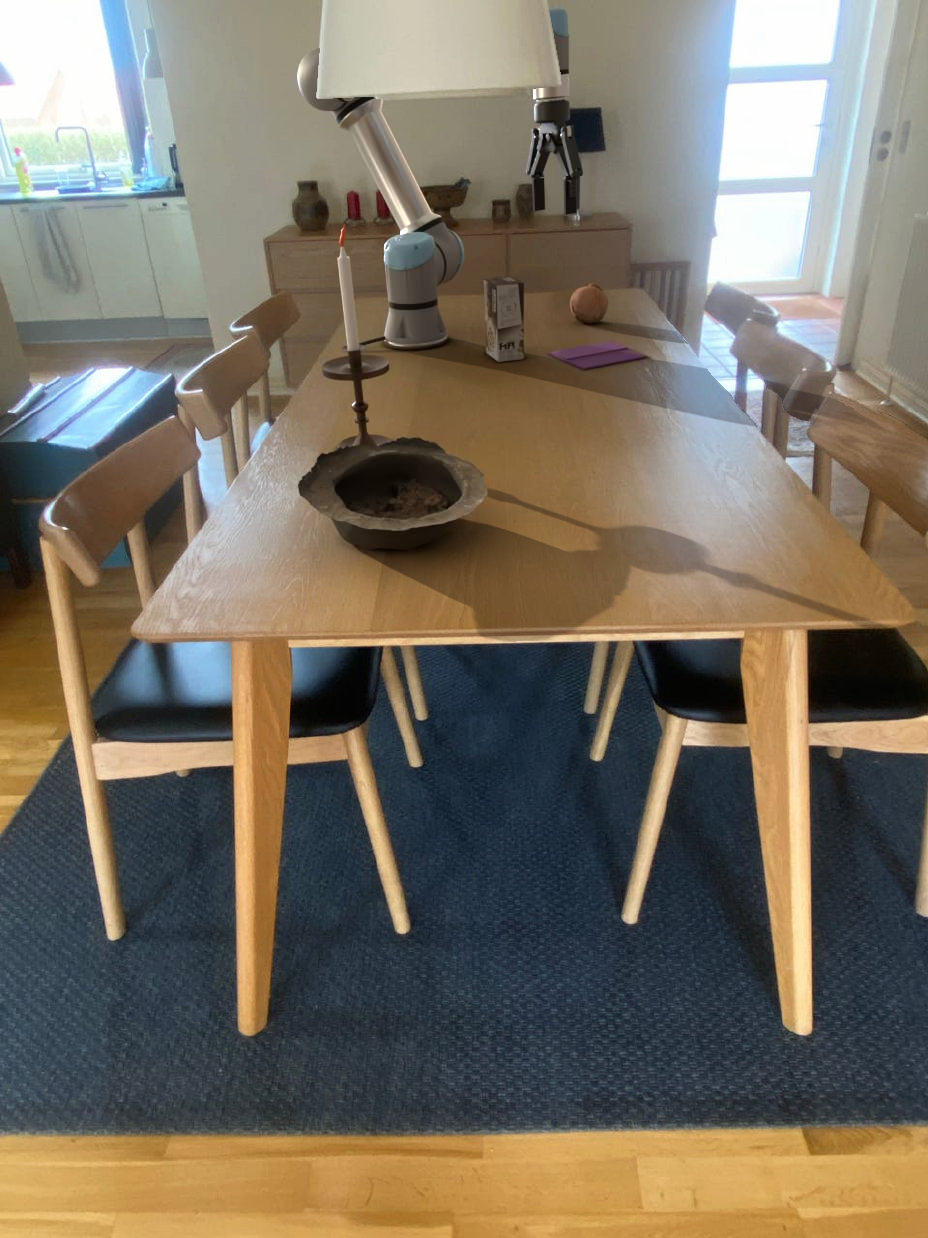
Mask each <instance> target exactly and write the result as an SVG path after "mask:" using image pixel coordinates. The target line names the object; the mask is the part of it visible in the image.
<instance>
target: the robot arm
mask: <svg viewBox="0 0 928 1238" xmlns="http://www.w3.org/2000/svg"><path fill="white" fill-rule="evenodd" d="M548 9H549V12H550V17H551V22H552V28H553V33H554V39H555V44H556V50H557V55H558V60H559V66H560V72H561V82H562V84H561V86H560V87H549V88H536V89H533V88H532V89H533V91H532V92H533V97H532V98H533V100H534V101H536V102H535V103H534V105H533V118H534V119H533V120H534V123H535V124H539V127H532V128H531V140H530V142H531V143H530V147H529V152H528V159H527V165H526V170H525V173H526V176H529V178H530V179H531V185H532V186H531V187H532V188H531V189H532V210H533V212H539V211H545V210H546V193H545V191H546V189H545V174H544V172H545V168H546V166H547V163H548V160H549V157H550V154H551V153H552V154H555V155H556V158H557V161H558V162H559V165H560V168H561V170H562V173H563V175H564V177H563V179H562V181H563V182H562V183H563V214H564V216H568V215H574V214H577V195H578V194H577V190H578V189H577V188H578V187H577V184H578V183H577V181H578V179H579V178H580V177H582V176H583V175H584V170H583V166H582V162H581V157H580V153H579V150H578V145H577V141H576V137H575V136H576V135H575V127H574V125H567V126H566V124H565V122H568V121H569V120H570V118H571V105H570V104H571V103H570V100H567V98H568V97H569V96H570V84H571V82H570V33H569V17H568V16H569V15H568V13H567V11H566V10H565V9H563V8H548ZM320 48H321V47H319V48H315V49H311V50H310V51H308V52H307V53H306V54H305V55H304V56H303V57H302V59H301V61H300V62H299V65H298V69H297V74H296V75H297V76H296V77H297V85H298V89H299V92H300V93H301V95H302V97H303V99H304V100H305V101H306V103H308V104H309V105H310V106H311V107H312V108H314V109H317V110H318V111H322V112H331V113H332V116H333V117H334V119H335V122H336V123H337V125H338V127H339V128H340V129H342V130H345V131H347V132H349V134H350V136H351V138H352V139H353V141H354V143H355V145H356V147H357V149H358V151H359V153H360V155H361V157H362V159H363V161H364V163H365V164H366V167H367V168H368V171H369V172H370V174H371V176H372V178H373V180H374V182H375V184H376V186H377V188H378V189H379V192H380V194H381V196H382V197H383V199H384V201H385V203H386V206H387V208H388V209H389V211H390V213H391V215H392V217H393V218H394V220H395V222H396V224H397V227H398V228H399V230H400V234H397V235H394V236H392V237H390V238H389V239H387V240H386V242H385V243H384V246H383V254H384V255H383V262H384V271H385V281H386V291H387V300H388V313H387V319H386V322H385V329H384V333H383V336H380V337H375V338H372V339H368V340H364V341H361V342H359V345H364V346H366V345H367V346H368V345H370V344H371V345H372V344H374V343H378V342H382V341H384V345H385V347H388V348H390V349H395V350H403V351H405V350H406V351H416V350H425V349H427V350H428V349H432V348H436V347H439V346H442V345H444V344H446V343H447V342H448V330H447V328H446V325H445V322H444V320H443V316H442V314H441V312H440V311H441V310H440V308H439V301H438V287H439V286H441V285H443V284H447V283H448V282H450V281H451V280H453V279H454V278H455V277H456V276H457V275H458V274H459V273H460V271H462V268H463V265H464V261H465V255H466V254H465V247H464V244H463V241H462V239H461V238H460V237H459V235H458V234H457V233H456V232H455V231H452V230H451V229H449V228H447V226H446V222H444V220H443V218H442V215H440V214H438V213H434V212H433V211H432V210H431V208H430V206H429V204H428V202H427V200H426V198H425V196H424V194H423V192H422V189H421V188H420V186H419V184H418V181H417V180H416V178H415V176H414V174H413V172H412V170H411V168H410V166H409V164H408V161H407V159H406V158H405V156H404V154H403V151H402V150H401V148H400V146H399V144H398V142H397V140H396V138H395V136H394V134H393V132H392V130H391V128H390V126H389V124H388V122H387V120H386V118H385V116H384V114H383V112H382V108H383V105H384V99H383V98H382V99H376V98H374V97H354V98H333V99H317V98H316V92H317V78H318V65H319V53H320Z"/></svg>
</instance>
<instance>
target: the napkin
mask: <svg viewBox="0 0 928 1238" xmlns="http://www.w3.org/2000/svg"><path fill="white" fill-rule="evenodd" d="M550 355H551V356H553V357H556V358H558V359H559V360H562V361H564V362H566V363H568V364H571V365H573V366H575V367H578V368H580V369H582V370H590V369H596V368H601V367H605V366H610V365H616V364H617V365H618V364H621V363H626V362H632V361H637V360H641V359H647V358H648V355H645V354H643V353H641V352H637V351H635V350H633V349H631V348H629V347H628V346H625V345H623V344H620V343H619V342H618V343H617V342H616V341H615V342H614V341H613V340H608V341H602V342H595V343H593V344H585V345H581V346H575V347H574V346H573V347H569V348H564V349H558V350H552V351H550Z"/></svg>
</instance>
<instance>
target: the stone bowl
mask: <svg viewBox="0 0 928 1238" xmlns="http://www.w3.org/2000/svg"><path fill="white" fill-rule="evenodd" d="M390 441H391V442H387V443H384V444H382V445H379V446H378V447H370V445H368V446H365V445H362V446H359V445H355V446H351V447H349V446H346V447H345V448H344V449H342V448H341V447H339V448H338V447H337V449H336V450H334V451H329V452H328V453H324V452H321V453H320V454H319V455H318V456H317V457H316V462H314V465H313V466H311V468H310V470H309V471H308V472H307V473H305V475H303V476H301V479H300V480H299V481H298V484H297V489H298V493H299V496H300V497H301V498H303V499H305V500H306V501H307V502H308V503H309V505H310V506H312V507H313V508H314V509H316V511H317V512H318V514H319V515H321V516H323V517H326V518H330V519H331V521H332V523H333V525H334V527H335V529H336V531H337V533H338V534H339V536H340V537H341V538H342V539H343V540H344V541H345V542H346V543H348V544H350V545H356V546H359V547H360V548H362V549H366V550H375V549H387V550H400V551H411V550H414V549H415V548H418V547H419V546H421V545H422V546H423V545H426V544H429V543H431V542H434V541H437V540H439V539H440V538H441V537H443V535H444V534H445V533H446V531H447V530H448V529H449V528H450V527H451V525H452V524H453V523H454V522H455V521H456V520H458V519H460V518H463V517H465V516H467V515H469V514H470V513H472V512H474V510H475V509H476V508H477V507H478V506H479V505H480V504H482V503H483V501H484V500H485V498H487V497H488V488H487V485H486V483H485V480H484V478H485V477H486V476H485V474H484V473H483V472H482V471H481V470H480V469H479V468H478V467H477V466H476V465H475V464H474V463H472V462H470V461H467V460H465V459H462V458H460V457H458V456H456V455H453V454H448V453H447V452H446V450H445V449H444V448H442V447H441V446H440V445H438V442H434V441H430V440H424V439H423V438H422V437H418V436H417V437H410V438H409V437H406V436H405V437H404V436H402V437H399V438H396V440H390Z"/></svg>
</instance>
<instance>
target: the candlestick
mask: <svg viewBox="0 0 928 1238" xmlns="http://www.w3.org/2000/svg"><path fill="white" fill-rule="evenodd" d="M345 241H346V224H345V223H344V224H343V227H342V229H341V230H340V237H339V241H338V244H339V246H340V249H339V250H340V252H339V256H338V257H336V259H337V267H338V274H339V275H338V276H339V284H340V285H339V286H340V293H341V301H342V311H343V320H344V328H345V336H346V345H344V346H342V347H341V348H340V349H341V351H343V352H347V355H344V356H339V357H336V358H333V359H329V360H327V361H325V362H324V363H323V364H322V365H321V371H322V373H321V374H322V375H323V377H325V378H326V379H329V380H334V381H345V382H347V381H348V382H349V381H351V382H353V389H354V390H353V391H354V399H355V400H354V401H355V402H353V403H352V404H351V408H352V411H353V412H354V413H356V418H354V424H357V427H358V434H357V435H353V436H349V437H347V438H344V439H343V440H341V441H340V442H338V445H337V449H338V448H339V447H341V448H342V449H344V448H345V447H346V446H349V447H351V446H355V445H359V446H362V445H365V446H368V445H370V447H378V446H379V445H382V444H384V443H387V442H391V441H392V440H391V439H390V438H389V437H387V436H385V435H381V434H374V433H373V434H369V432H368V428H367V426H368V425H367V423H369V422H370V418H369V417H367V414H366V412H367V411H368V409H369V406H370V405H369V403H368V402H367V401H365V400H364V391H363V383H362V382H363V381H365V380H369V379H374V378H377V377H381V376H384V375H385V374H387V373H388V372H389V371H390V361H389V359H388V358H386V357H384V356H380V355H374V354H362V350H365V349H366V348H367V346H366V345H359V343H360V340H359V331H358V321H357V313H356V304H355V294H354V285H353V276H352V275H353V274H352V266H351V258H350V256H348V255H347V253H346V250H345V247H344V246H345Z"/></svg>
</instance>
